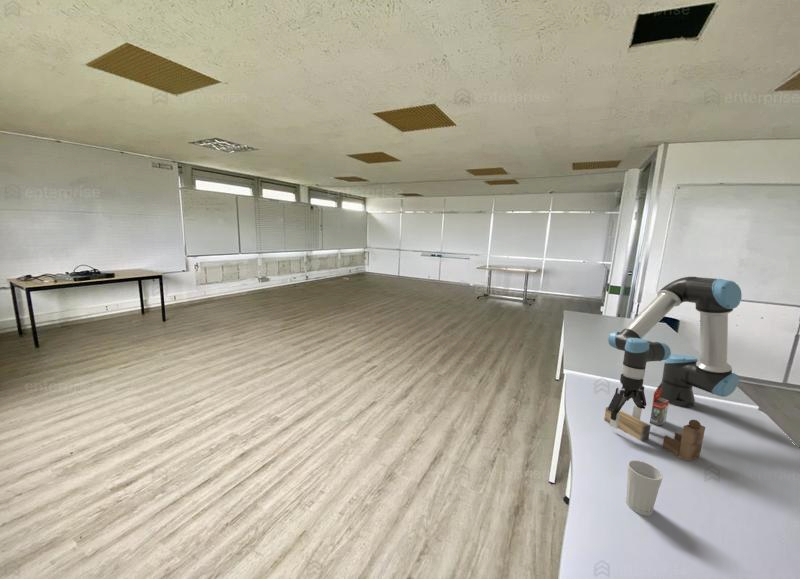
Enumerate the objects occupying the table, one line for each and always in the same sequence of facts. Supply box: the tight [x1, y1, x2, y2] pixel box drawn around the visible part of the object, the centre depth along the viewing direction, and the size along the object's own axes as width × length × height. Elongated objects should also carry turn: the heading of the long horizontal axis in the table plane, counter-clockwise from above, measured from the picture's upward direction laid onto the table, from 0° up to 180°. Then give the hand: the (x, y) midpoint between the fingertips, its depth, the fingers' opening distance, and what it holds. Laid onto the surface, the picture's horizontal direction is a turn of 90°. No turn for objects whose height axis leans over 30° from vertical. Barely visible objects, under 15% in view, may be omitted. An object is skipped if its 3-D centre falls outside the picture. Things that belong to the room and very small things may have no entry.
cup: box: [625, 459, 664, 517], centre depth 92 cm, size 8×8×12 cm
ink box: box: [649, 388, 670, 427], centre depth 138 cm, size 4×8×15 cm, turn 123°
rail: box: [604, 406, 652, 442], centre depth 132 cm, size 4×16×6 cm, turn 21°
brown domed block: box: [661, 419, 706, 462], centre depth 117 cm, size 8×8×14 cm
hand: (624, 424), depth 132 cm, fingers open, 13 cm apart
